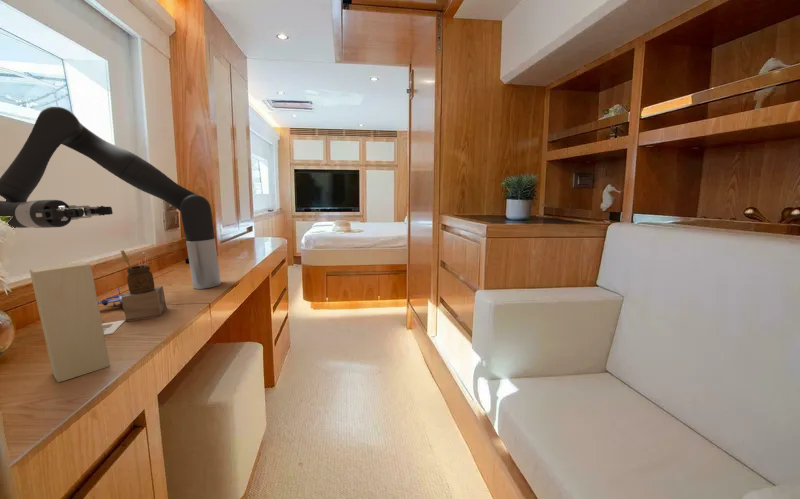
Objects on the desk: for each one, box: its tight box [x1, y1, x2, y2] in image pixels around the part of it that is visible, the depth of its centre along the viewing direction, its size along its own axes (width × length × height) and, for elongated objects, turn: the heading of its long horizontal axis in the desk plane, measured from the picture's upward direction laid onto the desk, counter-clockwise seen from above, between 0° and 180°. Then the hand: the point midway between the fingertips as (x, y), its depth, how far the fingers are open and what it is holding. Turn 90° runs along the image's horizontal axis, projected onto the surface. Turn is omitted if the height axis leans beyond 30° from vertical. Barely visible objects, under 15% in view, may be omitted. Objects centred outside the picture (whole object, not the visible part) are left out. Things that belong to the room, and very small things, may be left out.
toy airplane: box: [98, 287, 126, 310], centre depth 111 cm, size 13×14×4 cm
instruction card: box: [102, 319, 126, 336], centre depth 92 cm, size 10×7×1 cm
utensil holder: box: [120, 250, 155, 294], centre depth 100 cm, size 6×6×12 cm
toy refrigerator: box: [29, 261, 111, 383], centre depth 69 cm, size 8×7×21 cm
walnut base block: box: [122, 285, 168, 323], centre depth 102 cm, size 8×8×7 cm
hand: (96, 211), depth 96 cm, fingers open, 8 cm apart
